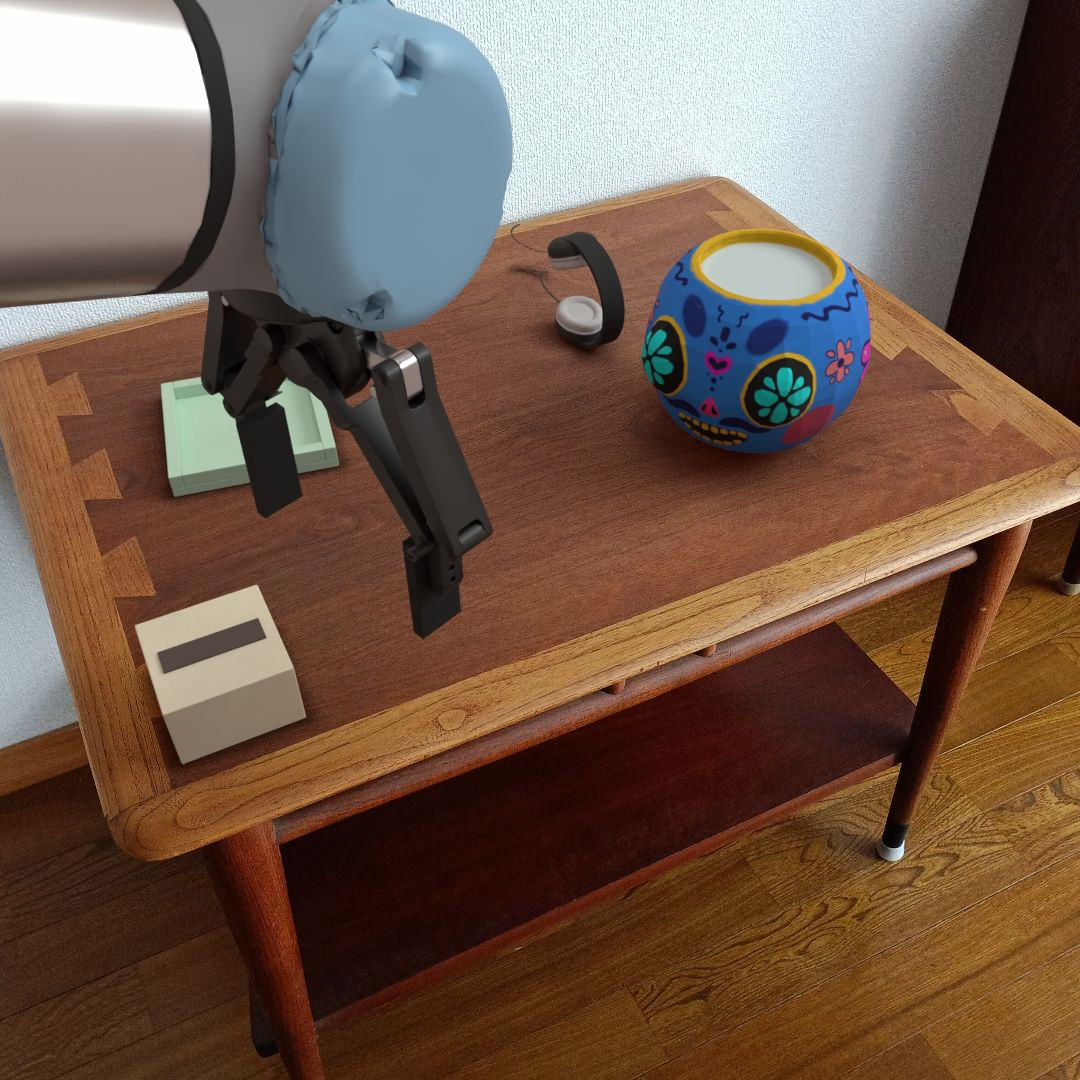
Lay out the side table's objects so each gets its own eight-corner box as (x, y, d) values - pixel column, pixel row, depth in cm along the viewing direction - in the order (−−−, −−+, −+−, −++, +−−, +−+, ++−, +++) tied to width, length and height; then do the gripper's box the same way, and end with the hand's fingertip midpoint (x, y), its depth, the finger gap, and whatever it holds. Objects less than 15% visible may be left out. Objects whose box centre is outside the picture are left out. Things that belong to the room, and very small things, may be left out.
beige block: (306, 718, 71) (293, 666, 67) (182, 765, 68) (161, 713, 65) (270, 634, 76) (256, 582, 73) (153, 675, 74) (133, 623, 70)
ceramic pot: (601, 449, 91) (607, 288, 80) (692, 343, 102) (708, 189, 91) (804, 521, 84) (839, 355, 74) (878, 400, 95) (918, 241, 85)
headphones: (536, 290, 114) (639, 354, 98) (498, 302, 112) (597, 368, 97) (525, 194, 108) (632, 246, 93) (485, 205, 107) (587, 259, 91)
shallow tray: (316, 376, 98) (312, 357, 97) (339, 466, 89) (335, 446, 88) (166, 402, 96) (160, 383, 94) (174, 497, 87) (168, 477, 85)
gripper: (569, 272, 43) (565, 637, 57) (199, 98, 55) (273, 434, 70) (425, 352, 39) (460, 723, 53) (62, 146, 51) (171, 492, 66)
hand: (354, 560), depth 62 cm, fingers open, 13 cm apart
